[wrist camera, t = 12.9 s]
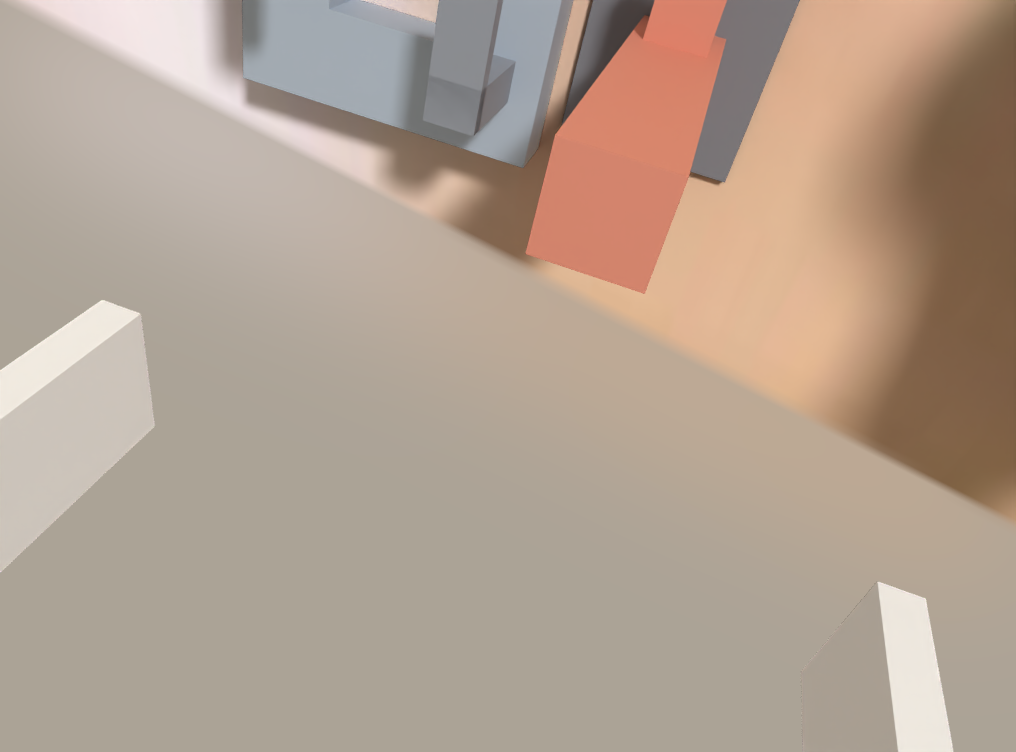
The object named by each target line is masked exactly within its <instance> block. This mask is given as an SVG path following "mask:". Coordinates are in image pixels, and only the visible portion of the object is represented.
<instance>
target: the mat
mask: <svg viewBox="0 0 1016 752" xmlns="http://www.w3.org/2000/svg"><path fill="white" fill-rule="evenodd" d="M654 1H655V0H593V3H592V7H591V11H590V15H589V19H588V23H587V27H586V31H585V35H584V39H583V42H582V46H581V50H580V54H579V58H578V62H577V66H576V70H575V74H574V78H573V82H572V86H571V90H570V94H569V98H568V102H567V106H566V109H565V113H564V117H563V121H562V125H563V124H564V122H565V121H566V120H567V118H568V117H569V116H570V114H571V113H572V112H573V110H574V109H575V108H576V106H577V105H578V104H579V102H580V101H581V100H582V98H583V97H584V95H585V94H586V93H587V91H588V90H589V89H590V87H591V86H592V85H593V83H594V82H595V81H596V79H597V78H598V77H599V75H600V74H601V73H602V71H603V70H604V69H605V67H606V66H607V65H608V63H609V62H610V61H611V59H612V58H613V57H614V55H615V54H616V53H617V51H618V50H619V49H620V47H621V46H622V45H623V43H624V42H625V41H626V39H627V38H628V37H629V35H630V34H631V33H632V31H633V30H634V29H635V27H636V26H637V24H638V23H639V22H640V20H641V19H642V18H643V16H644V15H646V16H650V14H651V11H652V7H653V4H654ZM799 1H800V0H727V2H726V5H725V7H724V10H723V13H722V16H721V19H720V21H719V24H718V27H717V30H716V33H715V35H714V36H717V37H721V38H724V39H726V43H725V46H724V50H723V54H722V57H721V61H720V65H719V68H718V72H717V76H716V79H715V83H714V87H713V90H712V94H711V98H710V101H709V105H708V108H707V112H706V116H705V119H704V123H703V127H702V130H701V134H700V138H699V141H698V145H697V149H696V152H695V156H694V160H693V163H692V167H691V171H690V172H693V173H696V174H699V175H702V176H706V177H709V178H712V179H715V180H718V181H721V182H725V181H726V178H727V176H728V173H729V171H730V168H731V166H732V164H733V161H734V159H735V156H736V154H737V151H738V149H739V147H740V144H741V142H742V139H743V137H744V134H745V132H746V130H747V127H748V125H749V122H750V120H751V117H752V115H753V113H754V110H755V108H756V105H757V103H758V100H759V98H760V96H761V93H762V91H763V88H764V86H765V83H766V81H767V79H768V76H769V74H770V71H771V69H772V66H773V64H774V62H775V59H776V57H777V54H778V52H779V50H780V47H781V45H782V42H783V40H784V37H785V35H786V33H787V30H788V28H789V25H790V23H791V20H792V18H793V16H794V13H795V11H796V8H797V6H798V3H799ZM562 125H561V126H562Z"/></svg>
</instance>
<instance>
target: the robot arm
mask: <svg viewBox="0 0 1016 752" xmlns="http://www.w3.org/2000/svg"><path fill="white" fill-rule="evenodd" d="M154 426H155V424H154V416H153V408H152V400H151V392H150V385H149V376H148V369H147V361H146V352H145V344H144V336H143V329H142V320H141V314H140V313H137V312H135V311H132V310H129V309H126V308H124V307H121V306H118V305H115V304H112V303H110V302H107V301H104V300H101V301H100V302H99V303H97V304H96V305H94V306H93V307H91V308H90V309H88V310H87V311H85V313H83V314H81V315H80V316H78V317H77V318H75V319H74V320H73V321H71V322H69V323H68V324H67V325H65V326H64V327H62V328H61V329H59V330H58V331H57V332H55V333H54V334H52V335H51V336H49V337H48V338H46V339H45V340H43V341H42V342H41V343H39V344H38V345H36V346H35V347H33V348H32V349H30V350H29V351H27V352H26V353H25V354H23V355H22V356H20V357H19V358H17V359H16V360H14V361H13V362H12V363H10V364H9V365H7V366H6V367H4V368H3V369H1V370H0V572H1V571H3V570H4V569H5V568H6V567H7V566H8V565H9V564H10V563H11V562H12V561H13V560H14V559H15V558H16V557H17V556H18V555H19V554H20V553H21V552H22V551H24V550H25V548H27V547H28V546H29V545H30V544H31V543H32V542H33V541H34V540H35V539H36V538H37V537H38V536H39V535H40V534H42V532H44V531H45V530H46V529H47V528H48V527H49V526H50V525H51V524H52V523H53V522H54V521H55V520H56V519H57V518H58V517H59V516H61V515H62V514H63V513H64V512H65V511H66V510H67V509H68V508H69V507H70V506H71V505H72V504H73V503H74V502H75V501H76V500H77V499H78V498H79V497H80V496H81V495H83V494H84V493H85V492H86V491H87V490H88V489H89V488H90V487H91V486H92V485H93V484H94V483H95V482H96V481H97V480H98V479H99V478H101V477H102V476H103V475H104V474H105V472H107V471H108V470H109V469H110V468H111V467H112V466H113V465H114V464H115V463H116V462H117V461H118V460H120V458H122V456H124V455H125V454H126V453H127V452H128V451H129V450H130V449H131V448H132V447H133V446H134V445H135V444H136V443H137V442H139V441H140V439H142V438H143V437H144V436H145V435H146V434H147V433H148V432H149V431H150V430H151V429H152V428H153V427H154ZM801 690H802V691H801V692H802V745H803V752H953V746H952V741H951V735H950V730H949V724H948V719H947V713H946V709H945V702H944V697H943V692H942V686H941V680H940V675H939V670H938V664H937V658H936V653H935V647H934V642H933V637H932V631H931V626H930V620H929V614H928V609H927V603H926V598H923V597H920V596H917V595H914V594H912V593H909V592H906V591H903V590H900V589H898V588H895V587H892V586H890V585H887V584H884V583H881V582H879V581H877V582H876V584H875V585H874V586H873V587H872V588H871V589H870V590H869V592H868V593H867V594H866V595H865V596H864V598H863V599H862V600H861V601H860V602H859V604H858V605H857V606H856V607H855V608H854V609H853V611H852V612H851V613H850V614H849V615H848V616H847V618H846V619H845V620H844V621H843V622H842V624H841V625H840V626H839V627H838V628H837V630H836V631H835V632H834V633H833V634H832V635H831V637H830V638H829V639H828V640H827V641H826V643H825V644H824V645H823V646H822V647H821V648H820V650H819V651H818V652H817V653H816V654H815V656H814V657H813V658H812V659H811V660H810V661H809V663H808V664H807V665H806V666H805V668H804V669H803V670H802V671H801Z"/></svg>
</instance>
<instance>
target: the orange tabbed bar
mask: <svg viewBox="0 0 1016 752" xmlns="http://www.w3.org/2000/svg"><path fill="white" fill-rule="evenodd" d="M726 2H727V0H655V1H654V4H653V7H652V11H651V14H650V16H646V15H644V16H643V18H642V19H641V20H640V22H639V23H638V24H637V26H636V27H635V29H634V30H633V31H632V33H631V34H630V35H629V37H628V38H627V39H626V41H625V42H624V43H623V45H622V46H621V47H620V49H619V50H618V51H617V53H616V54H615V55H614V57H613V58H612V59H611V61H610V62H609V63H608V65H607V66H606V67H605V69H604V70H603V71H602V73H601V74H600V75H599V77H598V78H597V79H596V81H595V82H594V83H593V85H592V86H591V87H590V89H589V90H588V91H587V93H586V94H585V95H584V97H583V98H582V100H581V101H580V102H579V104H578V105H577V106H576V108H575V109H574V110H573V112H572V113H571V114H570V116H569V117H568V118H567V120H566V121H565V122H564V124H563V125H562V126H561V128H560V129H559V130H558V132H557V133H556V134H555V138H554V142H553V146H552V150H551V154H550V158H549V162H548V166H547V170H546V173H545V177H544V181H543V185H542V189H541V193H540V197H539V201H538V205H537V209H536V213H535V217H534V221H533V225H532V229H531V233H530V237H529V241H528V245H527V249H526V253H525V254H527V255H530V256H533V257H536V258H539V259H542V260H545V261H548V262H551V263H554V264H557V265H560V266H563V267H566V268H569V269H572V270H575V271H578V272H581V273H584V274H587V275H590V276H593V277H596V278H599V279H602V280H605V281H608V282H611V283H614V284H617V285H620V286H623V287H626V288H629V289H632V290H635V291H638V292H641V293H644V294H645V291H646V289H647V286H648V283H649V281H650V278H651V275H652V273H653V270H654V267H655V265H656V262H657V260H658V257H659V254H660V252H661V249H662V246H663V244H664V241H665V238H666V236H667V233H668V230H669V228H670V225H671V223H672V220H673V217H674V215H675V212H676V209H677V207H678V204H679V201H680V199H681V196H682V194H683V191H684V188H685V186H686V183H687V180H688V178H689V174H690V171H691V167H692V163H693V160H694V156H695V152H696V149H697V145H698V141H699V138H700V134H701V130H702V127H703V123H704V119H705V116H706V112H707V108H708V105H709V101H710V98H711V94H712V90H713V87H714V83H715V79H716V76H717V72H718V68H719V65H720V61H721V57H722V54H723V50H724V46H725V43H726V39H724V38H721V37H717V36H714V35H715V33H716V30H717V27H718V24H719V21H720V19H721V16H722V13H723V10H724V7H725V5H726Z"/></svg>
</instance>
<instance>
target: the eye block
mask: <svg viewBox="0 0 1016 752" xmlns="http://www.w3.org/2000/svg"><path fill="white" fill-rule="evenodd" d="M572 4H573V0H439V4H438V11H437V19H436V23H434V22H430V21H427V20H424V19H421V18H417V17H414V16H411V15H408V14H404V13H401V12H398V11H395V10H391V9H388V8H385V7H382V6H378V5H375V4H372V3H368V2H365V1H362V0H242V23H243V78H246V79H249V80H252V81H255V82H258V83H261V84H264V85H267V86H270V87H273V88H276V89H280V90H283V91H286V92H289V93H292V94H295V95H298V96H301V97H304V98H307V99H311V100H314V101H317V102H320V103H323V104H326V105H329V106H332V107H335V108H338V109H341V110H345V111H348V112H351V113H354V114H357V115H360V116H363V117H366V118H369V119H372V120H376V121H379V122H382V123H385V124H388V125H391V126H394V127H397V128H400V129H403V130H406V131H410V132H413V133H416V134H419V135H422V136H425V137H428V138H431V139H434V140H437V141H441V142H444V143H447V144H450V145H453V146H456V147H459V148H462V149H465V150H468V151H471V152H475V153H478V154H481V155H484V156H487V157H490V158H493V159H496V160H499V161H502V162H505V163H509V164H512V165H515V166H518V167H521V168H524V167H525V165H526V164H527V163H528V161H529V160H530V159H531V157H532V156H533V155H534V153H535V152H536V151H537V150H538V146H539V142H540V138H541V134H542V130H543V126H544V121H545V117H546V113H547V109H548V105H549V100H550V96H551V92H552V88H553V84H554V79H555V75H556V71H557V67H558V63H559V58H560V54H561V50H562V46H563V42H564V37H565V33H566V29H567V25H568V21H569V17H570V12H571V8H572Z"/></svg>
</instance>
